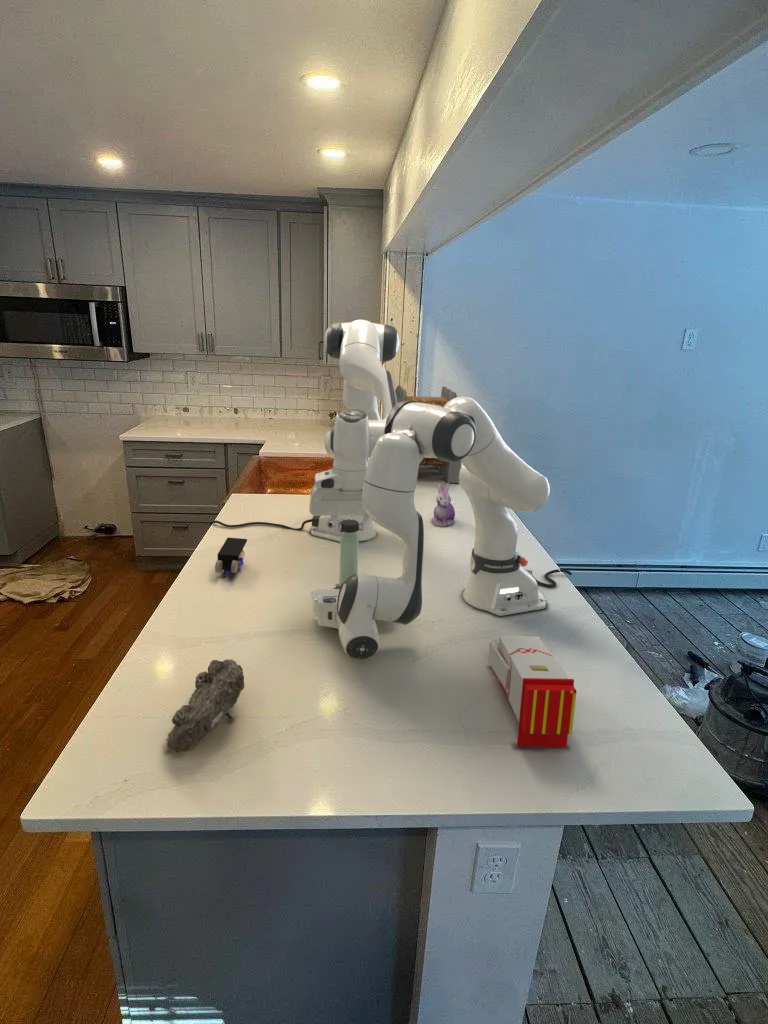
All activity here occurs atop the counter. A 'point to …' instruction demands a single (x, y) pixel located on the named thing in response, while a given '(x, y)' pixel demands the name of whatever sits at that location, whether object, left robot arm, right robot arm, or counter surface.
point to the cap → (350, 526)
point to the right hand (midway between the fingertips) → (347, 585)
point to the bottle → (348, 556)
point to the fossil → (206, 705)
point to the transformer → (444, 467)
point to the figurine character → (230, 556)
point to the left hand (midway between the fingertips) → (349, 530)
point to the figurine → (443, 507)
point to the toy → (534, 690)
